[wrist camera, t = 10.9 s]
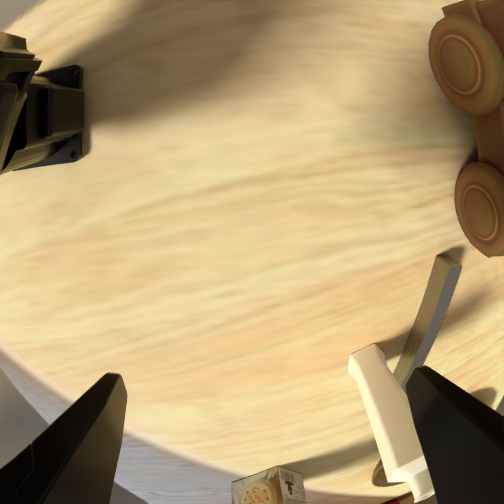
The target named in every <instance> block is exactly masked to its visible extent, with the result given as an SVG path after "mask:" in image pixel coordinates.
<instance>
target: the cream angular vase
mask: <svg viewBox="0 0 504 504" xmlns="http://www.w3.org/2000/svg"><path fill="white" fill-rule="evenodd" d="M348 372H349V373H350V374H351V375H352V376H353V378H354V379H355V380H356V381H357V383H358V386H359V389H360V392H361V395H362V398H363V402H364V405H365V408H366V411H367V414H368V417H369V420H370V423H371V427H372V430H373V433H374V436H375V440H376V443H377V446H378V450H379V453H380V456H381V460H382V463H383V467H384V470H385V474H386V477H387V481H388V482H409V485H410V487H411V490H412V492H413V495H414V498H415V501H414V503H415V502H418V501H421V500H423V499H426V498H428V497H430V496H431V495H433V494H435V492H434V488H433V484H432V481H431V477H430V474H429V471H428V467H427V464H426V461H425V458H424V454H423V451H422V448H421V445H420V442H419V439H418V436H417V433H416V430H415V427H414V423H413V419H412V414H411V410H410V406H409V402H408V398H407V395H406V394H405V392H404V390H403V389H402V387H401V386H400V384H399V383H398V381H397V380H396V378H395V377H394V375H393V374H392V372H391V371H390V369H389V368H388V367H387V363H386V359H385V354H384V353H383V352H382V351H381V350H380V348H379V347H378V346H377V345H376V344H372V345H370V346H368V347H365V348H363V349H361V350H359V351H357V352H355V353H353V354H351V355H350V359H349V367H348Z"/></svg>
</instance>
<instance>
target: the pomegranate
mask: <svg viewBox="0 0 504 504" xmlns="http://www.w3.org/2000/svg"><path fill="white" fill-rule="evenodd" d="M384 504H400V503H399V502H397V501H390V502H387V503H384Z"/></svg>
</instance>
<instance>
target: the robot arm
mask: <svg viewBox="0 0 504 504" xmlns="http://www.w3.org/2000/svg"><path fill="white" fill-rule="evenodd" d="M34 57H35V54H33V53H31V52H28V50H27V47H26V39H25V38H22V37H19V36H16V35H12V34H8V33H4V32H0V175H2V174H4V173H7V172H10V171H16V170H22V169H28V168H35V167H41V166H48V165H55V164H63V163H71V162H76V161H79V160H80V159H81V157H82V130H83V129H84V92H83V91H82V78H83V68H82V67H81V66H79V65H71V66H67V67H63V68H59V69H56V70H52V71H48V72H45V73H42V74H38V75H35V76H33V75H34V73H35V71H38V69H39V67H40V65H41V63H42V60H39V59H37V58H34ZM76 69H77V73H76V74H75V75H73V72H74V70H76ZM74 151H75V152H76V154H77V155H76V157H74V156H73V152H74ZM405 389H406V394H407V398H408V402H409V406H410V410H411V414H412V419H413V423H414V427H415V430H416V433H417V436H418V439H419V442H420V445H421V448H422V451H423V454H424V458H425V461H426V464H427V467H428V471H429V474H430V477H431V481H432V484H433V488H434V492H435V495H436V499H437V503H438V504H504V416H502V415H501V414H499V413H498V412H496V411H495V410H493V409H492V408H490V407H489V406H487V405H486V404H484V403H483V402H481V401H480V400H478V399H477V398H475V397H474V396H472V395H471V394H469V393H468V392H466V391H465V390H463V389H461V388H460V387H458V386H457V385H455V384H454V383H452V382H451V381H449V380H448V379H446V378H445V377H443V376H442V375H440V374H439V373H437V372H436V371H434V370H433V369H431V368H430V367H428V366H425V365H424V366H418V367H415V368H414V370H413V371H412V373H411V375H410V377H409V379H408V381H407V383H406V387H405ZM126 404H127V391H126V388H125V385H124V382H123V379H122V376H121V375H120V374H117V373H110V372H108V373H106V374H105V375H104V376H103V377H101V378H100V379H99V380H98V381H97V382H96V383H95V384H94V385H93V386H92V387H91V388H89V389H88V390H87V391H86V392H85V393H84V394H83V395H82V396H81V397H80V398H79V399H78V400H76V401H75V402H74V403H73V404H72V405H71V406H70V407H69V408H68V409H67V410H66V411H65V412H63V413H62V414H61V415H60V416H59V417H58V418H57V419H56V420H55V421H54V422H53V423H52V424H51V425H49V426H48V427H47V428H46V429H45V430H44V431H43V432H42V433H41V434H40V435H39V436H38V437H37V438H35V439H34V440H33V441H32V444H29V445H28V446H27V447H26V448H25V449H24V450H23V451H21V452H20V453H19V454H18V455H17V456H16V457H15V458H13V459H12V460H11V461H10V462H9V463H7V464H6V465H5V466H3V467H2V468H1V469H0V504H109V502H110V497H111V491H112V487H113V482H114V477H115V472H116V467H117V463H118V458H119V454H120V449H121V444H122V438H123V429H124V420H125V412H126Z"/></svg>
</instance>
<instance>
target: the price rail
mask: <svg viewBox="0 0 504 504" xmlns="http://www.w3.org/2000/svg"><path fill="white" fill-rule="evenodd" d="M461 269H462V265H460V264H459V263H458V262H456V261H455V260H454V259H453V258H451V257H450V256H436V258H435V262H434V265H433V269H432V272H431V276H430V279H429V282H428V285H427V288H426V292H425V295H424V298H423V301H422V304H421V306H420V309H419V312H418V315H417V318H416V320H415V323H414V326H413V328H412V331H411V333H410V336H409V338H408V341H407V343H406V346H405V348H404V351H403V353H402V355H401V358H400V360H399V362H398V364H397V367H396V369H395V371H394V373H393V375H394V377H395V378H396V380H397V381H398V383H399V384H400V386H401V387H402V389H403V390H404V392H405V394H406V389H405V387H406V383H407V381H408V379H409V377H410V375H411V373H412V371H413V370H414V368H415V367H418V366H423V364H424V362H425V360H426V358H427V355H428V353H429V351H430V349H431V347H432V345H433V343H434V340H435V338H436V336H437V333H438V331H439V329H440V326H441V324H442V322H443V319H444V317H445V314H446V312H447V309H448V306H449V304H450V301H451V298H452V296H453V293H454V290H455V287H456V284H457V281H458V278H459V275H460V272H461ZM406 395H407V394H406Z"/></svg>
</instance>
